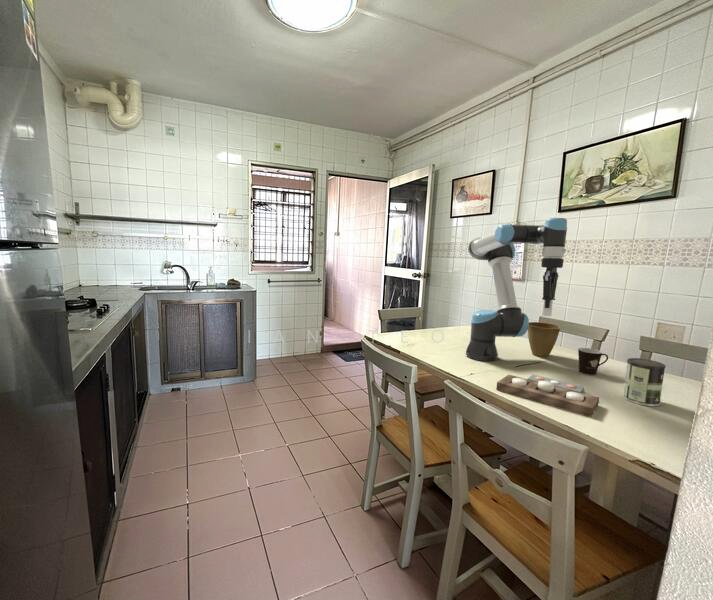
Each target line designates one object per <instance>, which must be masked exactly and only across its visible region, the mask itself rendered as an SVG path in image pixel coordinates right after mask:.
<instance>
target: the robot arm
mask: <svg viewBox="0 0 713 600" xmlns="http://www.w3.org/2000/svg"><path fill="white" fill-rule="evenodd" d="M567 231H568V220H567V218H564V217H549V218H546V220H545V223H544V225H543V224H542V225H535V224H533V225H531V224H530V225H529V224H499V225H498V226H497V227H496V229H495V231H494V232H491V233H490V234H487V235H485V236H483V237H476V238H474V239H472V240H471V241H470V242H469V243H468V249H467V250H468V253H469V255H470V256H471V257H472V258H474V259H476V260H480V261H487V262H488V265H489V266H490V267H491V269H492V274H493V281H494V287H495V293H496V298H497V306H498V309H497V310H493V309H482V310H481V309H480V310H476V311H474V312H473V313H472V316H471V320H470V321H471V325H470V327H471V328H470V339H469V343H468V346H467V348H466V350H465V356H466V355H467V356H468V357H467V356H466V357H467V358H469V357H470V358H469V359H471V358H473V359H472V360H475V359H477V360H476V361H480V360H483V362H495V361H497V360H498V359H499V353H498V349H497V345H496V339H497V338H496V337H500V338H501V337H502V338H503V337H504V338H508V337H509V338H518V337H519V338H521V337H523V336H524V335H525V334H526V333H528V326H529V316H528V315H527V314H526V313H525V312H524V313H522V308H521V307H520V306H518V304H517V298H516V293H515V287H514V286H515V285H514V281H513V276H512V270H511V265H510V264H511V263H512V262H513V260H514V258H515V255H516V253H515V252H516V248H515V245H514V244H532V245H540V244H542V252H541V253H542V255H541V256H542V257H543V258H542V259H541V267H542V268H545V269H546V270H545V272H544V275H543V276H542V281H543V282H542V283H543V284H542V285H543V287H542V289H543V290H542V298H541V299H542V300H544V302H543V310H542V317H543V316H544V317H552V312H553V305H554V304H553V302H554V301H555V300H556V298H555V297H556V290H557V285H558V280H559V279H558V278H559V272H558V269H562V268H563V267H564V261H565V260H564V256H565V252H567V249H565V248H566V246H565V245H566V240H567ZM494 360H495V361H494Z"/></svg>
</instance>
